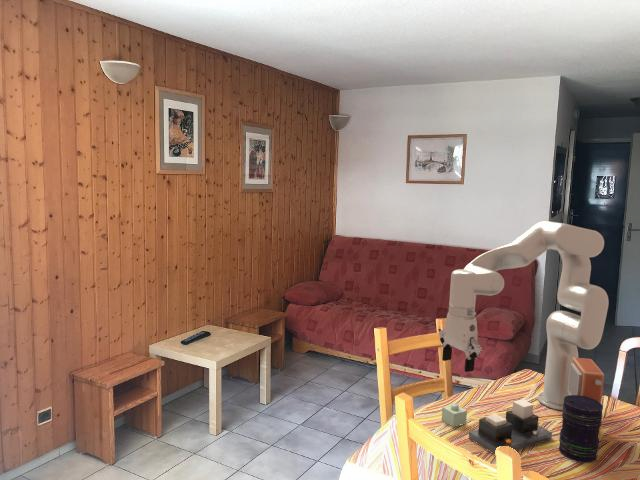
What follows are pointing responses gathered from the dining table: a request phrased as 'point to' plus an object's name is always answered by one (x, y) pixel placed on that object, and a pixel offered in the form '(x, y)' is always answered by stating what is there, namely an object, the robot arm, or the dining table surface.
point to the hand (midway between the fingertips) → (457, 365)
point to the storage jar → (580, 428)
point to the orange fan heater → (585, 379)
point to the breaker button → (522, 409)
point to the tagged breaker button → (495, 420)
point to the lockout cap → (454, 414)
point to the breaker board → (510, 433)
